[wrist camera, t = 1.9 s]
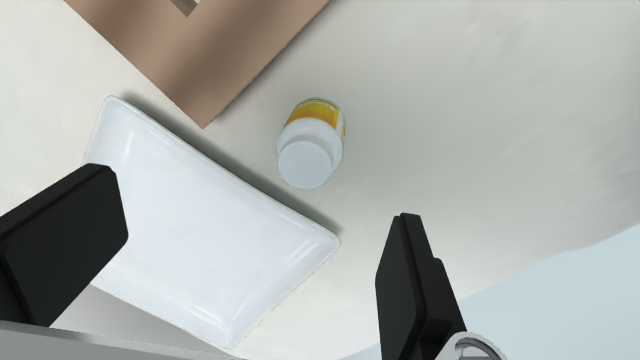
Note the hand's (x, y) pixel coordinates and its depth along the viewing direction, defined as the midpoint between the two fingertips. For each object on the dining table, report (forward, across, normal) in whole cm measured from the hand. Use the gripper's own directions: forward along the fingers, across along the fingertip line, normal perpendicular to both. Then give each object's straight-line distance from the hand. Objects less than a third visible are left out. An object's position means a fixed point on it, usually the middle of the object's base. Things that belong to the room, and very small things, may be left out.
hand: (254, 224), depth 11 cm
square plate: (+22, +13, +21) cm, 33 cm away
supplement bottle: (+22, -1, +4) cm, 22 cm away
